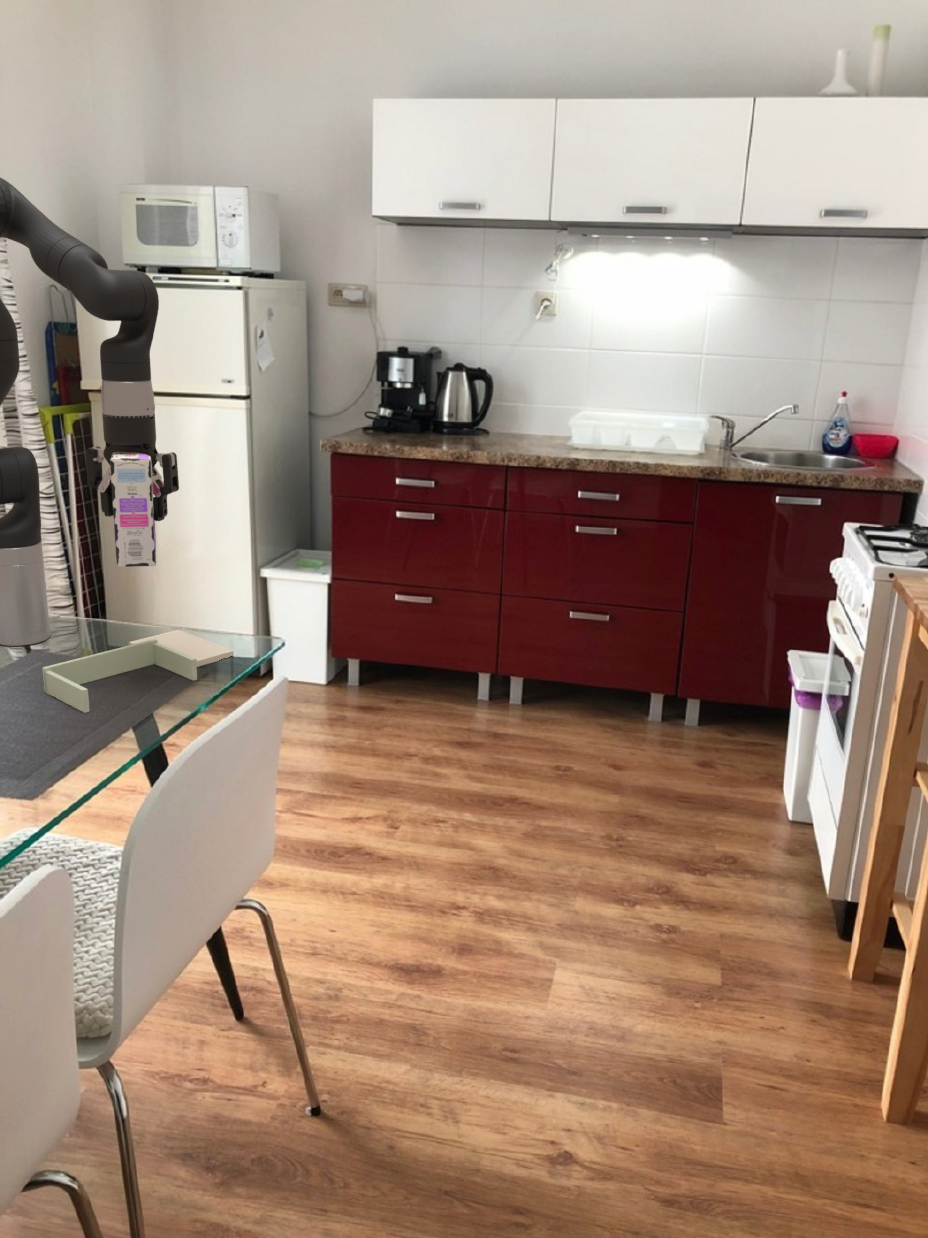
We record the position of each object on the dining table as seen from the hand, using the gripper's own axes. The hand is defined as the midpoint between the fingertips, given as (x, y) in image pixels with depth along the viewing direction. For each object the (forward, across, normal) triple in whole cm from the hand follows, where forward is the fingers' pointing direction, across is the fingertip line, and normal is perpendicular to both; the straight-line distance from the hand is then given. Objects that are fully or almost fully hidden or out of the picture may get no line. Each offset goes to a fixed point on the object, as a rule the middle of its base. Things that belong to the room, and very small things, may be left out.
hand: (135, 517), depth 161 cm
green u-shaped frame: (+26, 0, -6) cm, 26 cm away
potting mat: (+26, +1, +11) cm, 28 cm away
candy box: (+6, 0, 0) cm, 6 cm away
